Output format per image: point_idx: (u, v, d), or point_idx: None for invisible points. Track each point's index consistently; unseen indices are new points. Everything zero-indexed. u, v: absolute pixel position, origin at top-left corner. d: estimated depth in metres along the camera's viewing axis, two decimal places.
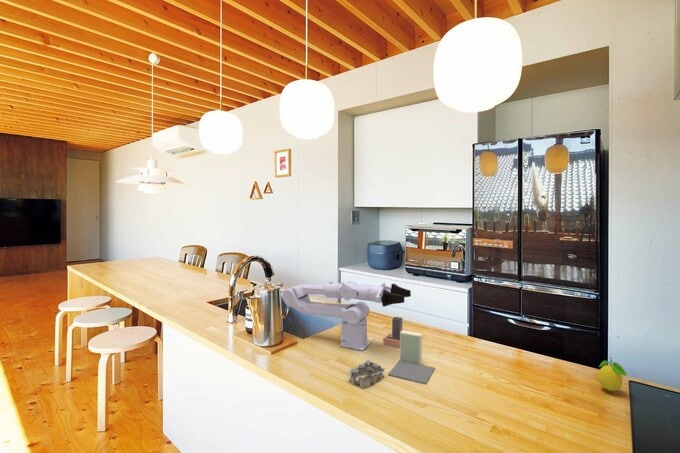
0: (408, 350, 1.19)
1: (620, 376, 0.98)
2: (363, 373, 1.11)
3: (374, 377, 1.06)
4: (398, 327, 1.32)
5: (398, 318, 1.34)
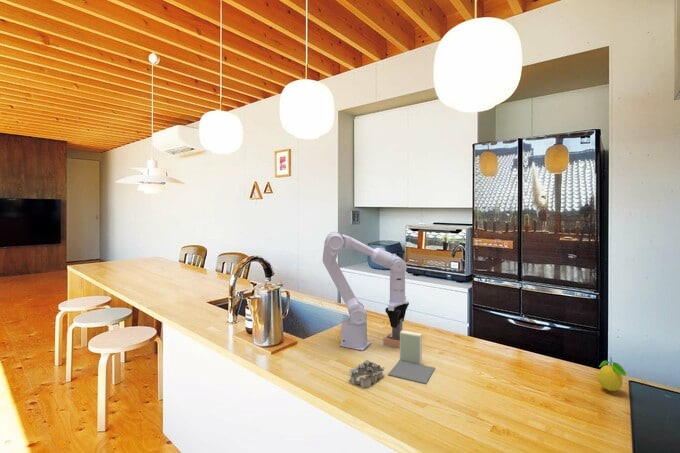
0: (408, 350, 1.19)
1: (620, 376, 0.98)
2: (363, 373, 1.11)
3: (374, 377, 1.06)
4: (398, 327, 1.32)
5: (398, 318, 1.34)
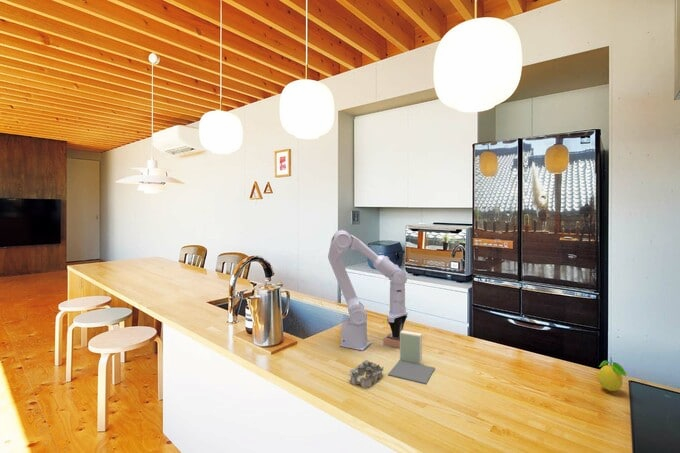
0: (408, 350, 1.19)
1: (620, 376, 0.98)
2: (362, 373, 1.11)
3: (375, 377, 1.06)
4: None
5: (398, 318, 1.34)
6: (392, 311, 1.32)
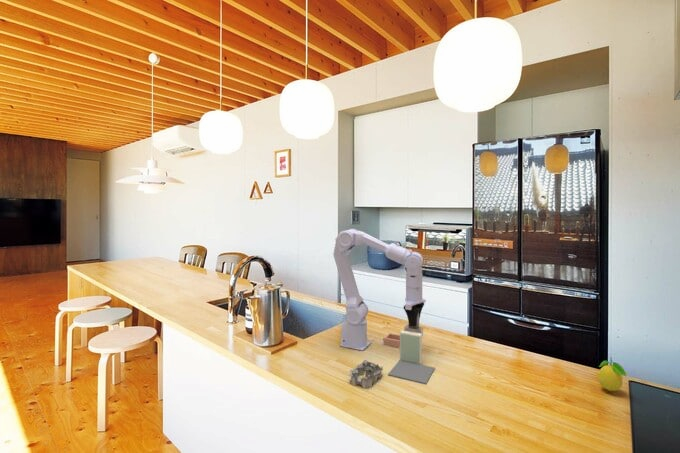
0: (408, 350, 1.19)
1: (620, 376, 0.98)
2: (361, 373, 1.11)
3: (375, 376, 1.07)
4: None
5: None
6: (409, 298, 1.24)
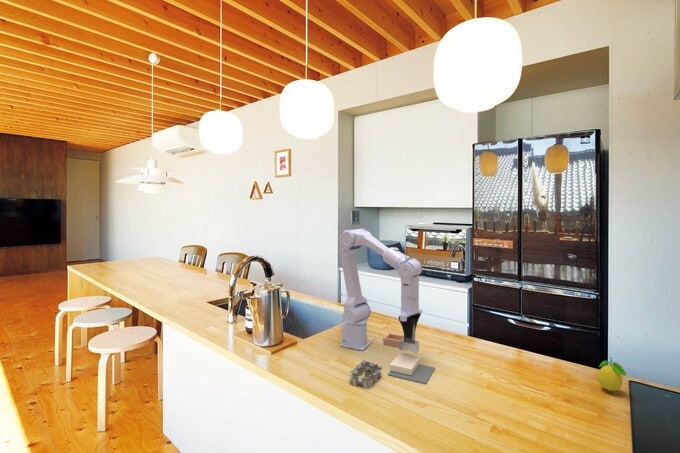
0: None
1: (620, 376, 0.98)
2: (361, 373, 1.11)
3: (375, 376, 1.07)
4: None
5: None
6: (404, 308, 1.16)
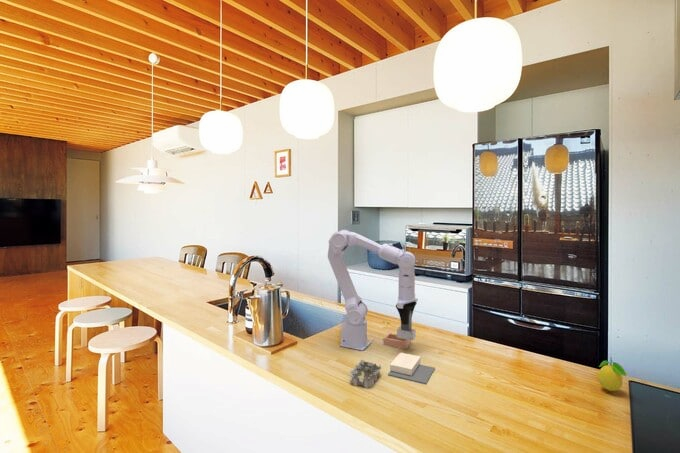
0: None
1: (620, 376, 0.98)
2: (360, 374, 1.11)
3: (375, 376, 1.07)
4: None
5: None
6: (401, 297, 1.26)
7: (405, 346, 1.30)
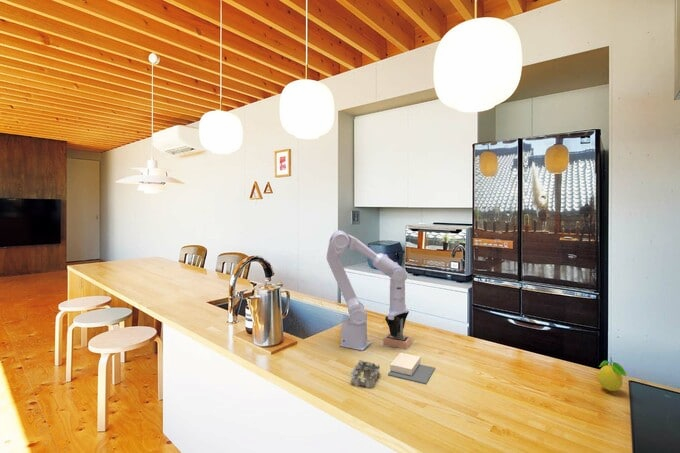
0: None
1: (620, 376, 0.98)
2: (359, 374, 1.11)
3: (375, 375, 1.07)
4: (399, 327, 1.32)
5: (399, 318, 1.34)
6: (392, 308, 1.32)
7: (405, 346, 1.30)
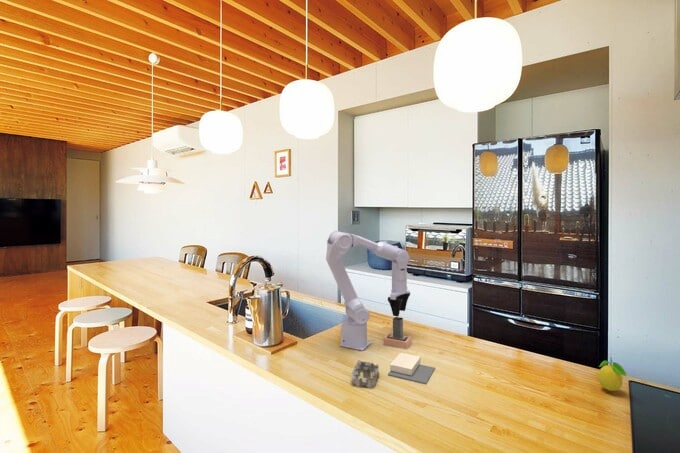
0: None
1: (620, 376, 0.98)
2: (359, 374, 1.11)
3: (376, 375, 1.08)
4: (399, 327, 1.32)
5: (399, 318, 1.34)
6: (394, 289, 1.36)
7: (405, 346, 1.30)
